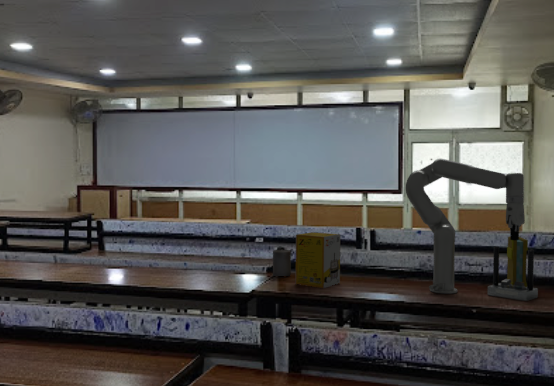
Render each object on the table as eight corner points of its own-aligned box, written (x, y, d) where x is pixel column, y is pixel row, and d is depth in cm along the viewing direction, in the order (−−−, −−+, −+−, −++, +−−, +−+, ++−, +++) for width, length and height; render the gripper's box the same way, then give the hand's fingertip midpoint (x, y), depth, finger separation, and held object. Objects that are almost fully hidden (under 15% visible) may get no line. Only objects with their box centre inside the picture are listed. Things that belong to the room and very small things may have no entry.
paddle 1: (506, 285, 270) (506, 282, 269) (501, 285, 272) (501, 281, 271) (510, 282, 273) (510, 279, 272) (505, 282, 274) (505, 278, 274)
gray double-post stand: (526, 301, 259) (527, 251, 259) (487, 294, 272) (487, 247, 272) (538, 297, 268) (539, 249, 267) (498, 291, 281) (499, 245, 280)
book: (526, 293, 277) (527, 240, 277) (511, 292, 279) (512, 239, 278) (519, 286, 294) (520, 236, 293) (505, 286, 295) (506, 236, 294)
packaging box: (312, 279, 308) (313, 232, 307) (339, 283, 299) (340, 234, 298) (295, 284, 295) (295, 234, 294) (323, 288, 286) (324, 236, 285)
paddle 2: (519, 285, 265) (520, 281, 266) (514, 284, 267) (514, 281, 267) (523, 286, 268) (524, 282, 269) (518, 285, 270) (518, 281, 270)
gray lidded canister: (284, 273, 326) (284, 246, 326) (294, 276, 318) (294, 248, 318) (269, 275, 321) (269, 248, 321) (279, 278, 313) (278, 249, 313)
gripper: (515, 200, 261) (515, 242, 261) (529, 199, 271) (529, 239, 272) (499, 200, 266) (499, 240, 267) (513, 199, 277) (513, 238, 277)
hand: (514, 240), depth 269 cm, fingers closed
